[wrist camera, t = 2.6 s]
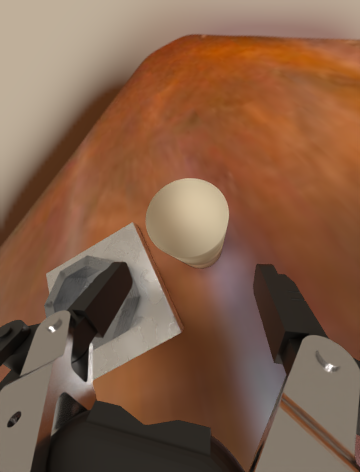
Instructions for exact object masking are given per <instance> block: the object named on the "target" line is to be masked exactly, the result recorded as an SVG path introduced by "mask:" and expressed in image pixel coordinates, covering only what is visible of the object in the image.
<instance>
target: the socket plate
mask: <svg viewBox="0 0 360 472" xmlns="http://www.w3.org/2000/svg"><path fill="white" fill-rule="evenodd" d="M113 262H126V263H127V265H128V268H129V271H130V273H131V276H132V279H133V285H132V288H131V290H130V292H129V293H128V295H127V297H126V299H125V300H124V302H123V304H122V306H121V307H120V309H119V311H118V313H117V314H116V316H115V318H114V320H113V321H112V323H111V325H110V327H109V328H108V330H107V332H106V334H105V335H104V337H103V338H98V337H94V339H93V340H92V344H93V380H94V379H96V378H98V377H100V376H102V375H103V374H105V373H107V372H109V371H111V370H113V369H115V368H116V367H118V366H120V365H122V364H124V363H126V362H128V361H129V360H131V359H133V358H135V357H137V356H139V355H141V354H142V353H144V352H146V351H148V350H150V349H152V348H154V347H155V346H157V345H159V344H161V343H163V342H165V341H167V340H168V339H170V338H172V337H174V336H176V335H178V334H180V333H181V332H182V331H183V329H184V326H183V324H182V322H181V320H180V318H179V315H178V313H177V311H176V309H175V307H174V304H173V302H172V300H171V298H170V296H169V293H168V291H167V289H166V287H165V284H164V282H163V280H162V278H161V276H160V273H159V271H158V269H157V267H156V265H155V262H154V260H153V258H152V256H151V253H150V251H149V249H148V247H147V245H146V242H145V240H144V238H143V236H142V234H141V231H140V229H139V227H138V226H137V225H136V224H134V223H133V222H132V223H131V224H129V225H127V226H126V227H124V228H122V229H121V230H119V231H117V232H116V233H114V234H112V235H110V236H109V237H107V238H105V239H104V240H102V241H100V242H99V243H97V244H95V245H94V246H92V247H90V248H89V249H87V250H85V251H84V252H82V253H80V254H79V255H77V256H75V257H74V258H72V259H70V260H69V261H67V262H65V263H64V264H62V265H60V266H59V267H57V268H55V269H54V270H52V271H50V272H49V273H47V274H46V276H47V282H48V287H49V293H50V294H49V297H48V299H47V301H46V303H45V305H44V306H45V312H46V318H48V317H49V316H51V315H52V314H54V313H56V312H59V311H63V310H67V309H68V308H69V307H70V306H71V305H72V304H73V302H74V301H75V300H76V299H77V298H78V297H79V296H80V295H81V294H82V292H83V291H84V290H85V289H86V288H88V286H89V285H90V283H91V282H93V280H94V279H95V278H96V277H97V276H98V275H99V274H100V273H101V272H103V271H104V270H106V269H107V268H108V267H109V266H110V265H111V264H112V263H113Z"/></svg>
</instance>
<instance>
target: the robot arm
mask: <svg viewBox="0 0 360 472" xmlns="http://www.w3.org/2000/svg"><path fill="white" fill-rule="evenodd" d="M132 285H133V279H132V276H131V273H130V271H129V268H128V265H127V263H126V262H113V263H112V264H111V265H110V266H109V267H108V268H107V269H106V270H104V271H103V272H101V273H100V274H99V275H98V276H97V277H96V278H95V279H94V280H93V282H91V283H90V285H89V286H88V288H86V289H85V290H84V291H83V292H82V294H81V295H80V296H79V297H78V298H77V299H76V300H75V301H74V302H73V304H72V305H71V306H70V307H69V308H68V309H67V310H63V311H59V312H56V313H54V314H52V315H51V316H49V317H48V318H46V319H45V320H44V321H43V322H42V323H40V324H36V325H31V326H27V325H26V324H25V323H24V322H23V321H22V320H15V321H12V322H10V323H7V324H5V325H4V326H2V327H0V366H1V365H2V364H4V365H5V366H6V367H8V368H9V369H11V371H10V372H9V373H8V374H7V376H6V377H5V378H4V379H3V380H2V381H1V383H0V472H245V471H244V470H243V468H242V467H241V465H240V464H239V463H238V461H237V460H236V458H235V457H234V456H233V455H232V454H231V452H230V451H229V450H228V449H227V448H226V447H225V446H224V445H223V444H222V443H221V442H219V441H218V440H217V439H215V438H214V437H213V436H211V428H209V427H205V426H201V425H197V424H193V423H188V422H184V421H180V420H176V421H170V422H164V423H158V424H152V425H144V424H142V423H141V422H140V421H138V420H137V419H136V418H135V417H133V416H132V415H131V414H130V413H128V412H127V411H126V410H125V409H123V408H122V407H121V406H118V405H114V404H110V403H106V402H101V401H97V399H96V394H95V391H94V388H93V344H92V340H93V339H94V337H98V338H103V337H104V335H105V334H106V332H107V330H108V328H109V327H110V325H111V323H112V321H113V320H114V318H115V316H116V314H117V313H118V311H119V309H120V307H121V306H122V304H123V302H124V300H125V299H126V297H127V295H128V293H129V292H130V290H131V288H132ZM253 289H254V295H255V299H256V302H257V306H258V309H259V313H260V316H261V319H262V323H263V326H264V330H265V333H266V337H267V340H268V343H269V347H270V350H271V354H272V357H273V361H274V363H278V364H283V366H284V369H285V372H286V377H285V379H284V382H283V385H282V387H281V390H280V392H279V395H278V398H277V400H276V403H275V405H274V408H273V411H272V413H271V416H270V418H269V421H268V423H267V426H266V428H265V431H264V433H263V435H262V438H261V440H260V443H259V445H258V448H257V450H256V453H255V456H254V458H253V461H252V463H251V466H250V469H249V471H248V472H360V467H359V466H358V465H357V463H356V460H355V440H356V434H358V435H359V436H360V361H358V360H356V359H354V358H352V357H351V355H350V354H349V353H348V352H347V351H346V350H345V349H343V348H342V347H341V346H340V345H338V344H337V343H335V342H333V341H332V340H330V339H329V338H328V336H327V335H326V334H325V332H324V330H323V329H322V327H321V325H320V324H319V322H318V321H317V319H316V317H315V316H314V314H313V312H312V311H311V309H310V308H309V306H308V304H307V303H306V301H304V298H303V296H302V294H301V293H300V291H299V290H298V288H297V286H296V285H295V283H294V282H293V281H292V280H291V279H290V278H288V277H287V276H286V275H285V274H278V273H277V271H276V269H275V267H274V266H273V265H272V264H257V265H256V270H255V277H254V284H253Z"/></svg>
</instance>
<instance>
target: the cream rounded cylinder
mask: <svg viewBox="0 0 360 472" xmlns="http://www.w3.org/2000/svg"><path fill="white" fill-rule="evenodd" d="M228 219H229V210H228V205H227V202H226V199H225V197H224V196H223V194H222V193H221V192H220V190H219V189H218V188H216V187H215V186H214V185H212V184H211V183H209V182H207V181H204V180H200V179H194V178H187V179H181V180H177V181H174V182H172V183H170V184H168V185H166V186H165V187H163V188H162V189H161V190H160V191H159V192H158V193H157V194H156V195H155V196H154V198H153V199H152V201H151V202H150V204H149V207H148V210H147V213H146V228H147V232H148V235H149V237H150V239H151V240H152V242H153V243H154V244H155V245H156V246H157V247H158V248H159V249H160V250H162V251H163V252H165V253H167V254H169V255H171V256H173V257H175V258H176V259H178V260H180V261H182V262H184V263H186V264H188V265H190V266H191V267H194V268H207V267H209V266H211V265H213V264H214V263H215V262H216V261H217V260H218V259H219V257H220V255H221V251H222V247H223V243H224V238H225V234H226V229H227V225H228Z"/></svg>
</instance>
